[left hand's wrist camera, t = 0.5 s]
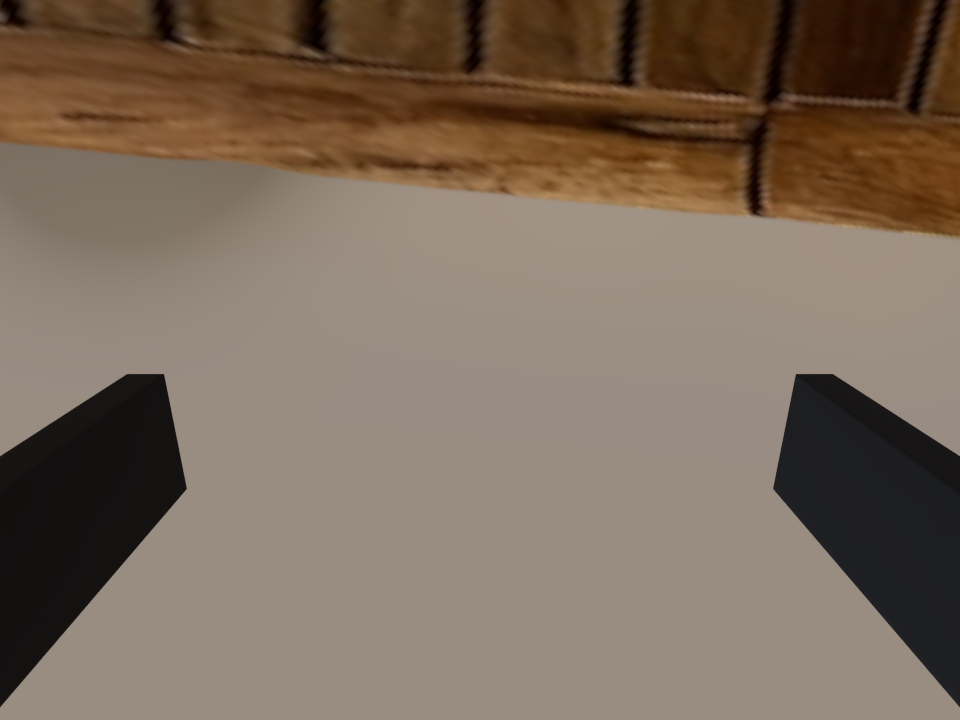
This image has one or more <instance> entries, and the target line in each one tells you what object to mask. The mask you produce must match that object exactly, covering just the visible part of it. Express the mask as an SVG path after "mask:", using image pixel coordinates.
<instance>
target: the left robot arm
mask: <svg viewBox="0 0 960 720" xmlns="http://www.w3.org/2000/svg"><path fill="white" fill-rule="evenodd" d="M186 489H187V487H186V483H185V477H184V472H183V467H182V462H181V457H180V452H179V447H178V442H177V437H176V432H175V427H174V422H173V417H172V412H171V407H170V402H169V397H168V392H167V387H166V382H165V377H164V374H127V375H125V376H124V377H122V378H120V379H119V380H117V381H116V382H114V383H113V384H111V385H110V386H108V387H107V388H105V389H103V390H102V391H100V392H99V393H97V394H96V395H94V396H93V397H91V398H90V399H88V400H86V401H85V402H83V403H82V404H80V405H79V406H77V407H76V408H74V409H73V410H71V411H70V412H68V413H66V414H65V415H63V416H62V417H60V418H59V419H57V420H56V421H54V422H52V423H51V424H49V425H48V426H46V427H45V428H43V429H42V430H40V431H39V432H37V433H35V434H34V435H32V436H31V437H29V438H28V439H26V440H25V441H23V442H21V443H20V444H18V445H17V446H15V447H14V448H12V449H11V450H9V451H8V452H6V453H4V454H3V455H1V456H0V707H1V706H2V704H3V703H4V702H5V701H6V700H7V699H8V697H9V696H10V695H11V694H12V693H13V692H14V690H15V689H16V688H17V687H18V686H19V685H20V683H21V682H22V681H23V680H24V679H25V678H26V676H27V675H28V674H29V673H30V672H31V671H32V669H33V668H34V667H35V666H36V665H37V663H38V662H39V661H40V660H41V659H42V658H43V656H44V655H45V654H46V653H47V652H48V651H49V649H50V648H51V647H52V646H53V645H54V644H55V642H56V641H57V640H58V639H59V638H60V637H61V635H62V634H63V633H64V632H65V631H66V630H67V628H68V627H69V626H70V625H71V624H72V623H73V621H74V620H75V619H76V618H77V617H78V616H79V614H80V613H81V612H82V611H83V610H84V609H85V607H86V606H87V605H88V604H89V603H90V601H91V600H92V599H93V598H94V597H95V596H96V594H97V593H98V592H99V591H100V590H101V589H102V587H103V586H104V585H105V584H106V583H107V582H108V580H109V579H110V578H111V577H112V576H113V575H114V573H115V572H116V571H117V570H118V569H119V568H120V566H121V565H122V564H123V563H124V562H125V561H126V559H127V558H128V557H129V556H130V555H131V554H132V552H133V551H134V550H135V549H136V548H137V547H138V545H139V544H140V543H141V542H142V541H143V539H144V538H145V537H146V536H147V535H148V534H149V532H150V531H151V530H152V529H153V528H154V527H155V525H156V524H157V523H158V522H159V521H160V520H161V518H162V517H163V516H164V515H165V514H166V513H167V511H168V510H169V509H170V508H171V507H172V506H173V504H174V503H175V502H176V501H177V500H178V499H179V497H180V496H181V495H182V494H183V493H184V492H185V490H186ZM773 489H774V490H775V492H776V493H777V494H778V495H779V496H780V497H781V499H782V500H783V501H784V502H785V503H786V504H787V506H788V507H789V508H790V509H791V510H792V511H793V513H794V514H795V515H796V516H797V517H798V518H799V520H800V521H801V522H802V523H803V524H804V525H805V527H806V528H807V529H808V530H809V531H810V532H811V534H812V535H813V536H814V537H815V538H816V540H817V541H818V542H819V543H820V544H821V545H822V547H823V548H824V549H825V550H826V551H827V552H828V554H829V555H830V556H831V557H832V558H833V559H834V561H835V562H836V563H837V564H838V565H839V566H840V568H841V569H842V570H843V571H844V572H845V573H846V575H847V576H848V577H849V578H850V579H851V580H852V582H853V583H854V584H855V585H856V586H857V587H858V589H859V590H860V591H861V592H862V593H863V594H864V596H865V597H866V598H867V599H868V600H869V601H870V603H871V604H872V605H873V606H874V607H875V608H876V610H877V611H878V612H879V613H880V614H881V615H882V617H883V618H884V619H885V620H886V621H887V623H888V624H889V625H890V626H891V627H892V628H893V630H894V631H895V632H896V633H897V634H898V635H899V637H900V638H901V639H902V640H903V641H904V642H905V644H906V645H907V646H908V647H909V648H910V649H911V651H912V652H913V653H914V654H915V655H916V656H917V658H918V659H919V660H920V661H921V662H922V663H923V665H924V666H925V667H926V668H927V669H928V671H929V672H930V673H931V674H932V675H933V676H934V677H935V679H936V680H937V681H938V682H939V683H940V685H941V686H942V687H943V688H944V689H945V690H946V692H947V693H948V694H949V695H950V696H951V697H952V699H953V700H954V701H955V702H956V703H957V704H958V706H959V707H960V456H959V455H957V454H956V453H954V452H952V451H951V450H949V449H948V448H946V447H945V446H943V445H942V444H940V443H938V442H937V441H935V440H934V439H932V438H931V437H929V436H928V435H926V434H925V433H923V432H921V431H920V430H918V429H917V428H915V427H914V426H912V425H911V424H909V423H908V422H906V421H904V420H903V419H901V418H900V417H898V416H897V415H895V414H894V413H892V412H891V411H889V410H887V409H886V408H884V407H883V406H881V405H880V404H878V403H877V402H875V401H874V400H872V399H870V398H869V397H867V396H866V395H864V394H863V393H861V392H860V391H858V390H857V389H855V388H853V387H852V386H850V385H849V384H847V383H846V382H844V381H843V380H841V379H840V378H838V377H836V376H835V375H833V374H796V377H795V382H794V387H793V392H792V397H791V402H790V407H789V412H788V417H787V422H786V427H785V432H784V437H783V442H782V447H781V452H780V457H779V462H778V467H777V472H776V477H775V482H774V487H773Z"/></svg>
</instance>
